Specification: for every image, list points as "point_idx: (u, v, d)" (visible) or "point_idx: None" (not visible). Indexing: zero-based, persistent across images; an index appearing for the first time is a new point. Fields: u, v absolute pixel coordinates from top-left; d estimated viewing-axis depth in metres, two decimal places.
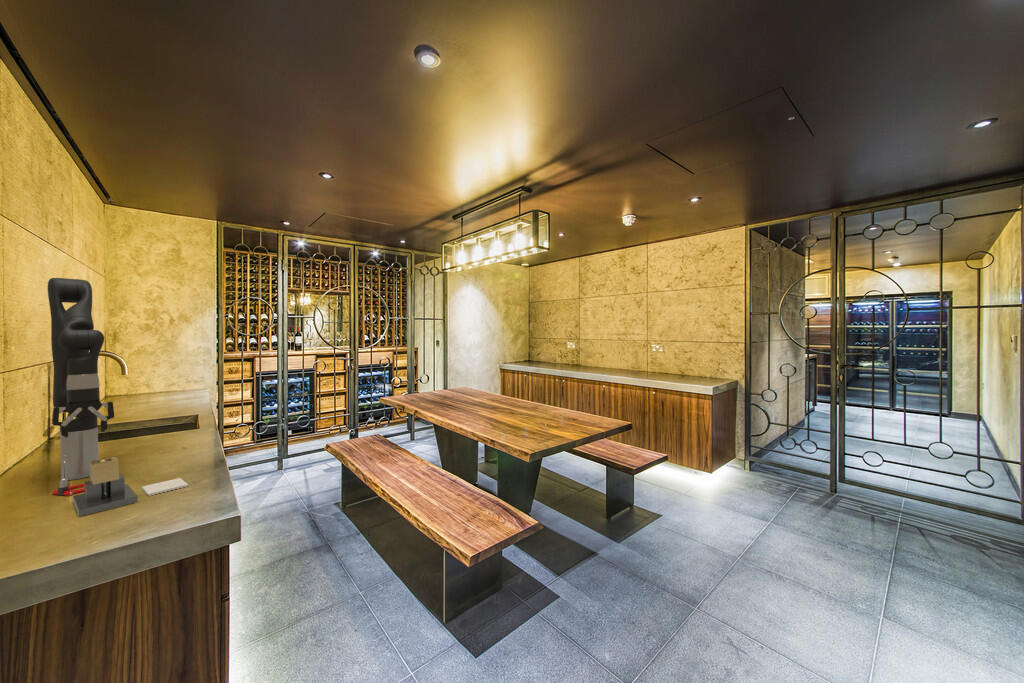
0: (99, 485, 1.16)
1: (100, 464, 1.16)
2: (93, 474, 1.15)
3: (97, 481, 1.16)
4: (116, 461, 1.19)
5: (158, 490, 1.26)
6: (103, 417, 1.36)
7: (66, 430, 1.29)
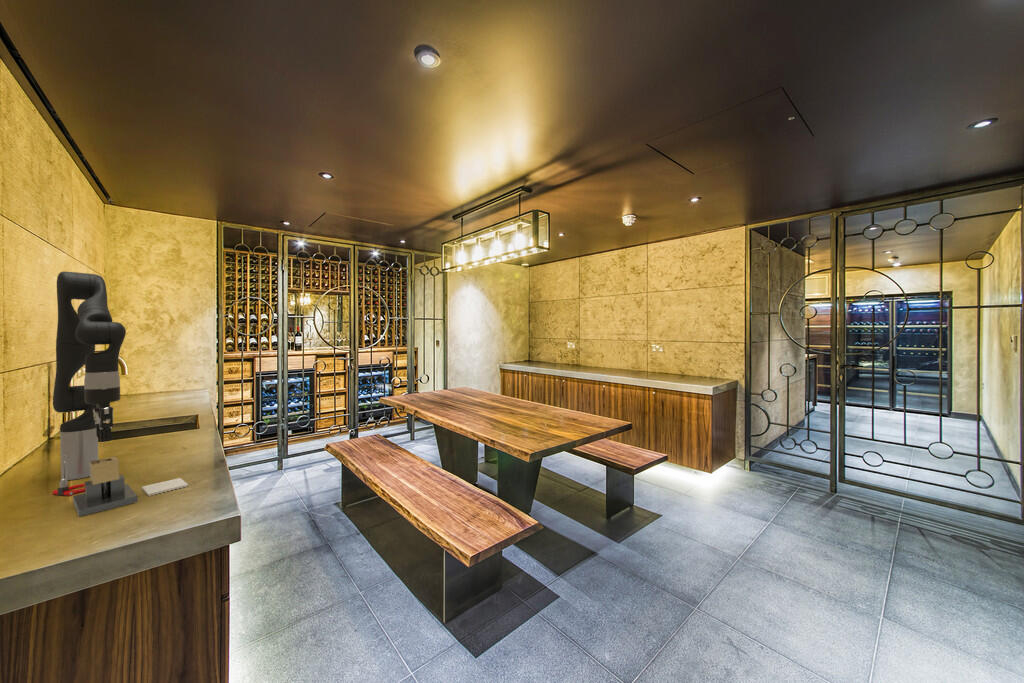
0: (99, 485, 1.16)
1: (100, 464, 1.16)
2: (93, 474, 1.15)
3: (97, 481, 1.16)
4: (116, 461, 1.19)
5: (158, 490, 1.26)
6: None
7: None
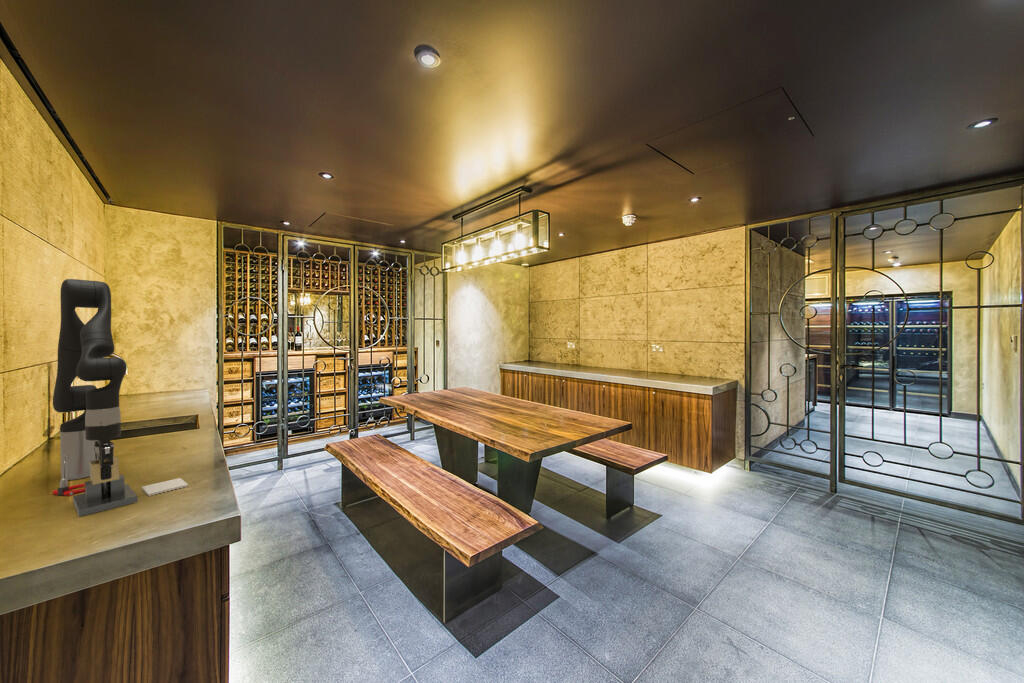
0: (99, 485, 1.16)
1: None
2: (93, 474, 1.15)
3: (97, 481, 1.16)
4: (116, 461, 1.19)
5: (158, 490, 1.26)
6: None
7: None
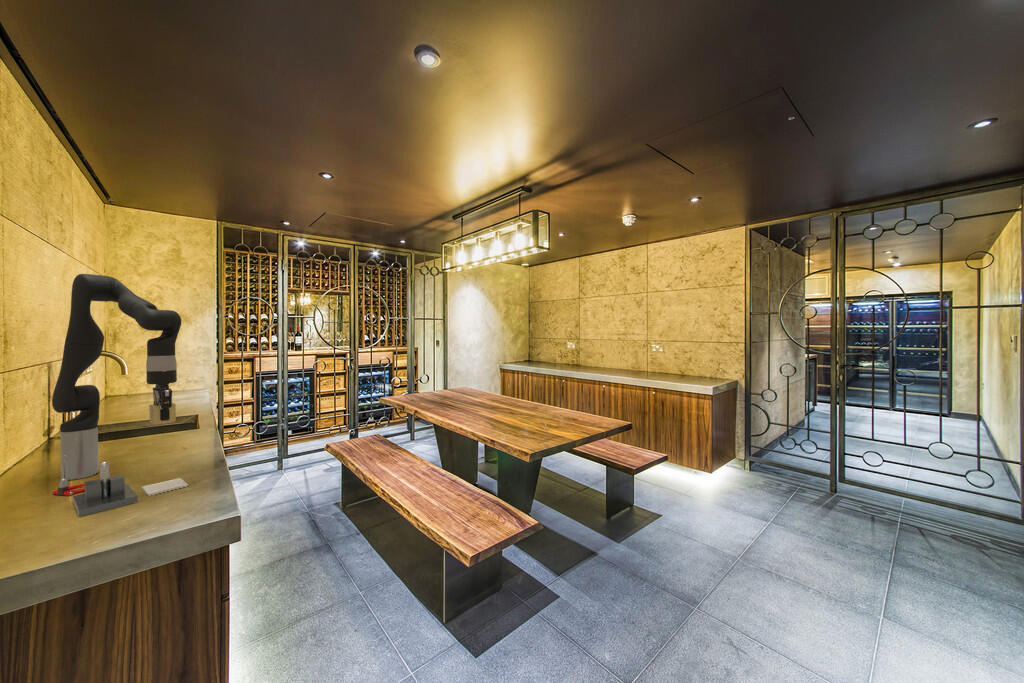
0: (99, 485, 1.16)
1: None
2: (154, 415, 1.26)
3: (157, 422, 1.26)
4: (173, 405, 1.29)
5: (158, 490, 1.26)
6: None
7: None
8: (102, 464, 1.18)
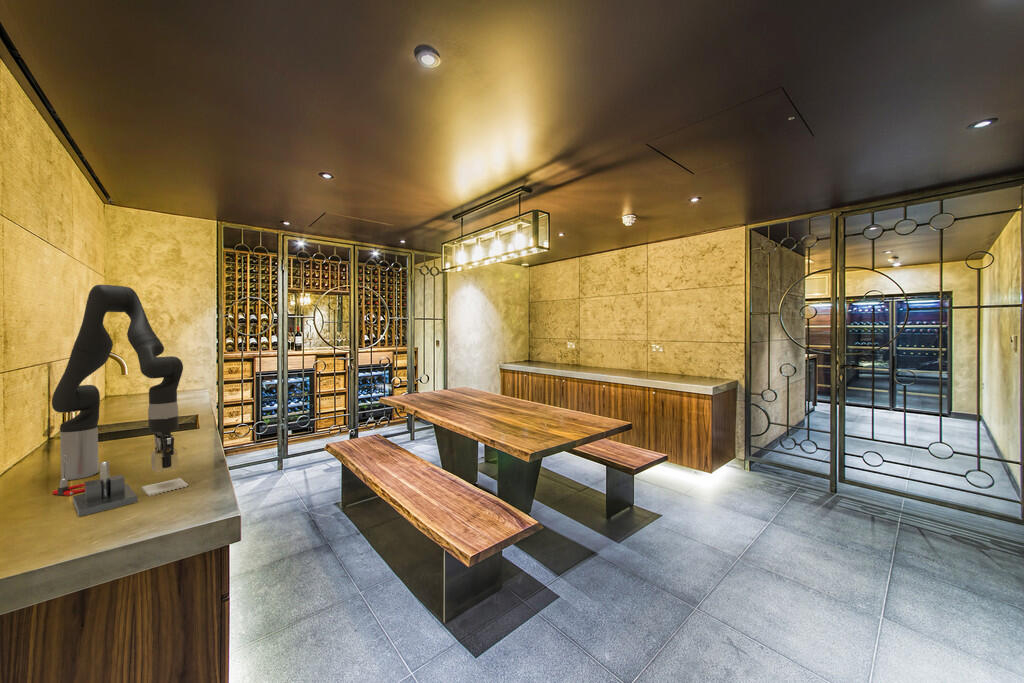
0: (99, 485, 1.16)
1: None
2: (156, 463, 1.26)
3: (159, 469, 1.27)
4: (175, 451, 1.30)
5: (158, 490, 1.26)
6: None
7: None
8: (102, 464, 1.18)
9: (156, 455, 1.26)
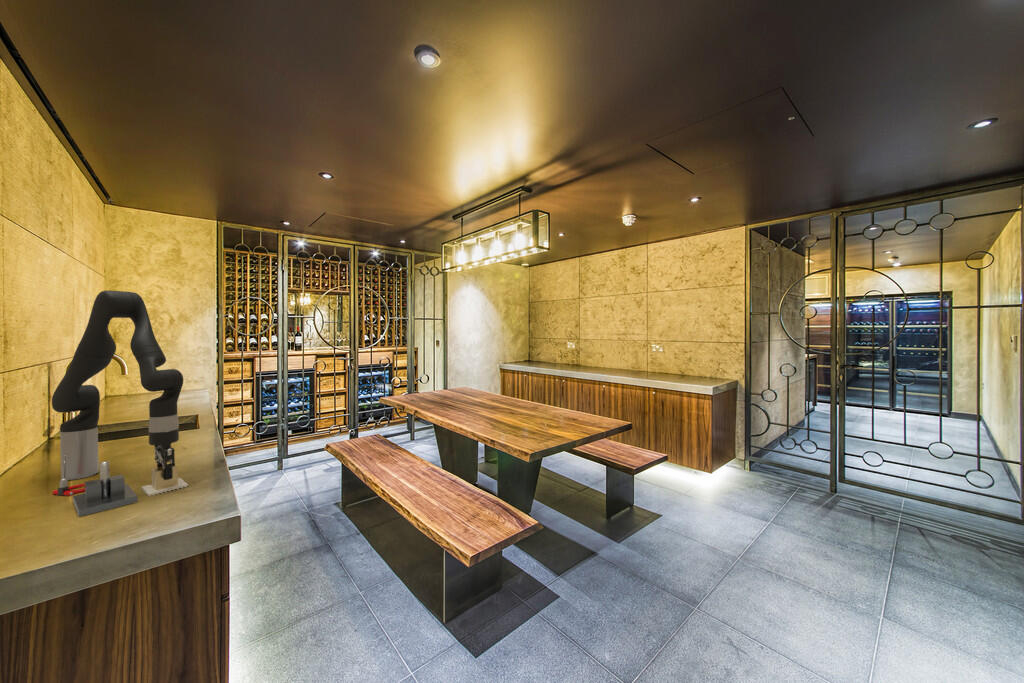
0: (99, 485, 1.16)
1: (162, 471, 1.27)
2: (156, 480, 1.26)
3: (159, 487, 1.27)
4: (175, 468, 1.30)
5: (158, 490, 1.26)
6: None
7: (172, 471, 1.28)
8: (102, 464, 1.18)
9: (156, 473, 1.26)
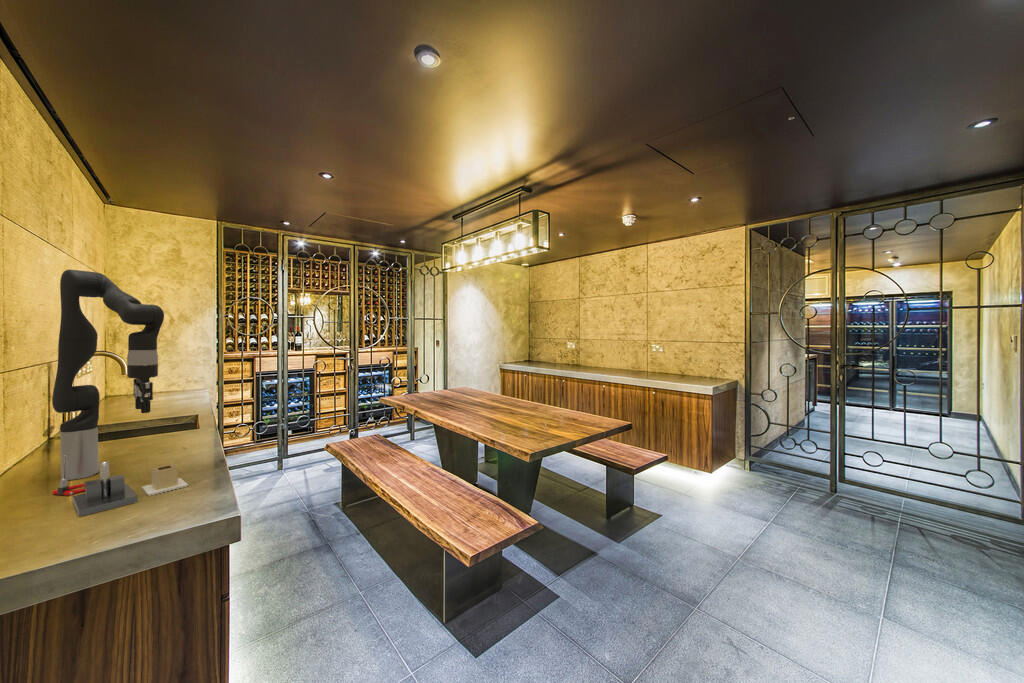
0: (99, 485, 1.16)
1: (162, 471, 1.27)
2: (156, 480, 1.26)
3: (159, 487, 1.27)
4: (175, 468, 1.30)
5: (158, 490, 1.26)
6: None
7: None
8: (102, 464, 1.18)
9: (156, 473, 1.26)
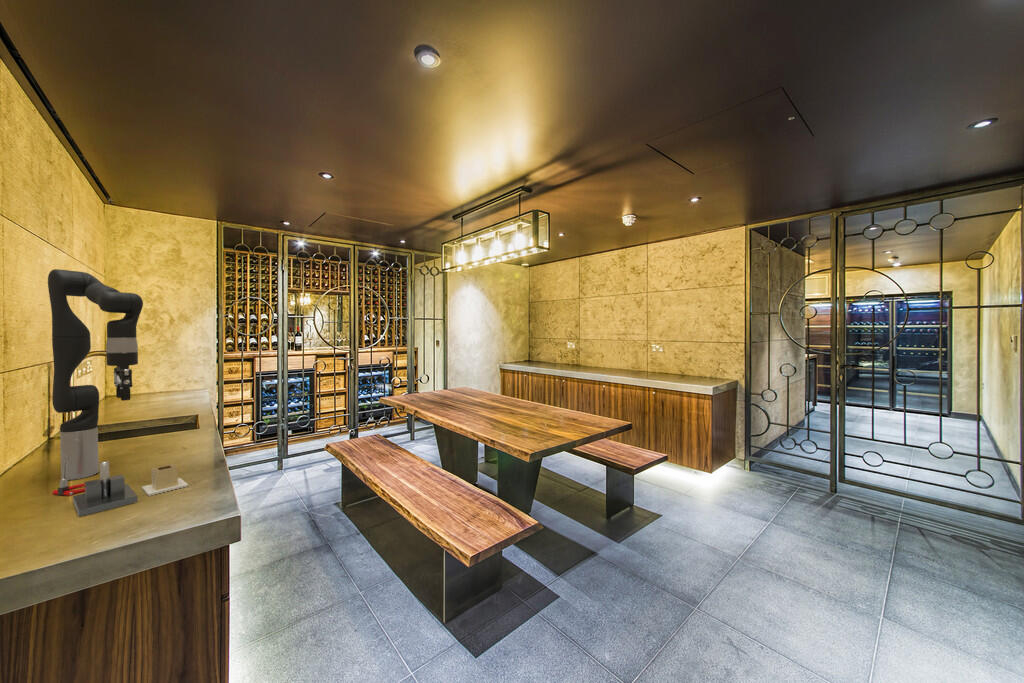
0: (99, 485, 1.16)
1: (162, 471, 1.27)
2: (156, 480, 1.26)
3: (159, 487, 1.27)
4: (175, 468, 1.30)
5: (158, 490, 1.26)
6: (125, 382, 1.34)
7: None
8: (102, 464, 1.18)
9: (156, 473, 1.26)
